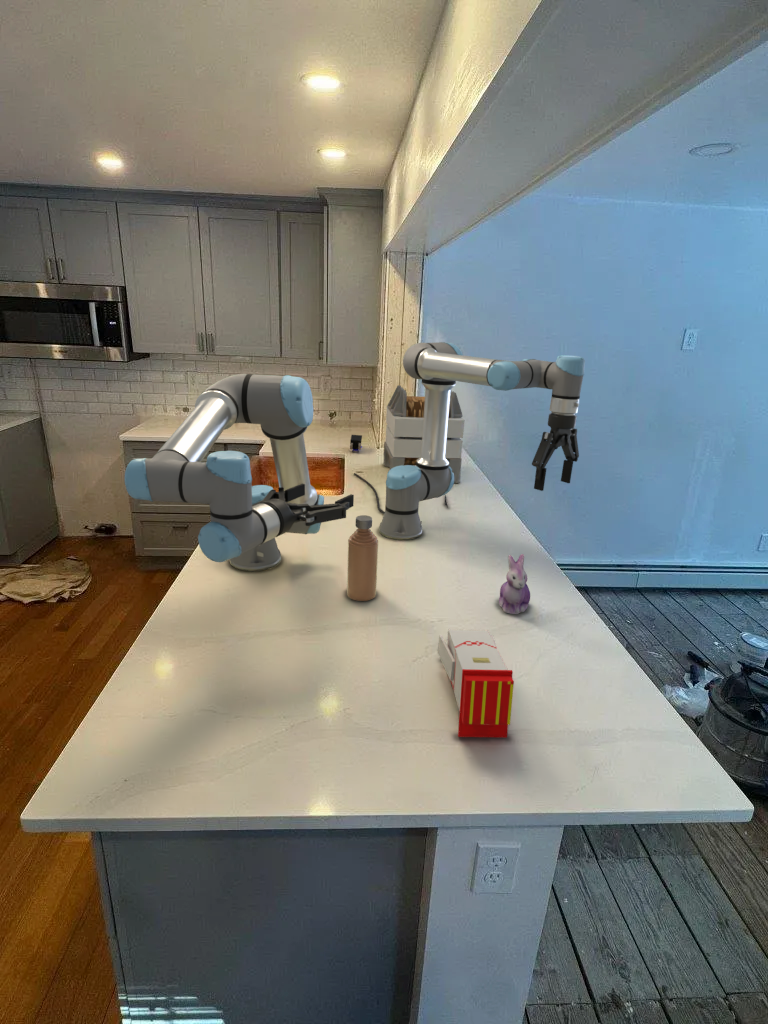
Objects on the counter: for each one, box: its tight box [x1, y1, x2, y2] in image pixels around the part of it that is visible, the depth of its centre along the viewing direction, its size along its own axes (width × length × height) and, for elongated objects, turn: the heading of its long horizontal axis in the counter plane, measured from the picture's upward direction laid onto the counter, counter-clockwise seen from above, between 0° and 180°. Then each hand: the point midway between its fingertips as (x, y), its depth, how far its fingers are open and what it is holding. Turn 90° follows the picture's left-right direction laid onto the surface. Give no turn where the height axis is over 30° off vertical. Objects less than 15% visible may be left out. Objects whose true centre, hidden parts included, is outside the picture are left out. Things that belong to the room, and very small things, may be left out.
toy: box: [437, 628, 515, 738], centre depth 117 cm, size 12×13×30 cm
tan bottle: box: [346, 528, 379, 602], centre depth 153 cm, size 8×8×22 cm
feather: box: [444, 494, 449, 509], centre depth 240 cm, size 2×28×2 cm
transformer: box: [383, 384, 465, 484], centre depth 268 cm, size 34×33×41 cm
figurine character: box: [349, 434, 363, 453], centre depth 311 cm, size 7×8×15 cm
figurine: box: [498, 553, 531, 615], centre depth 151 cm, size 9×10×15 cm
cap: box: [355, 514, 373, 529], centre depth 150 cm, size 4×4×2 cm
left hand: (327, 494), depth 131 cm, fingers open, 13 cm apart
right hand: (552, 485), depth 166 cm, fingers open, 13 cm apart
